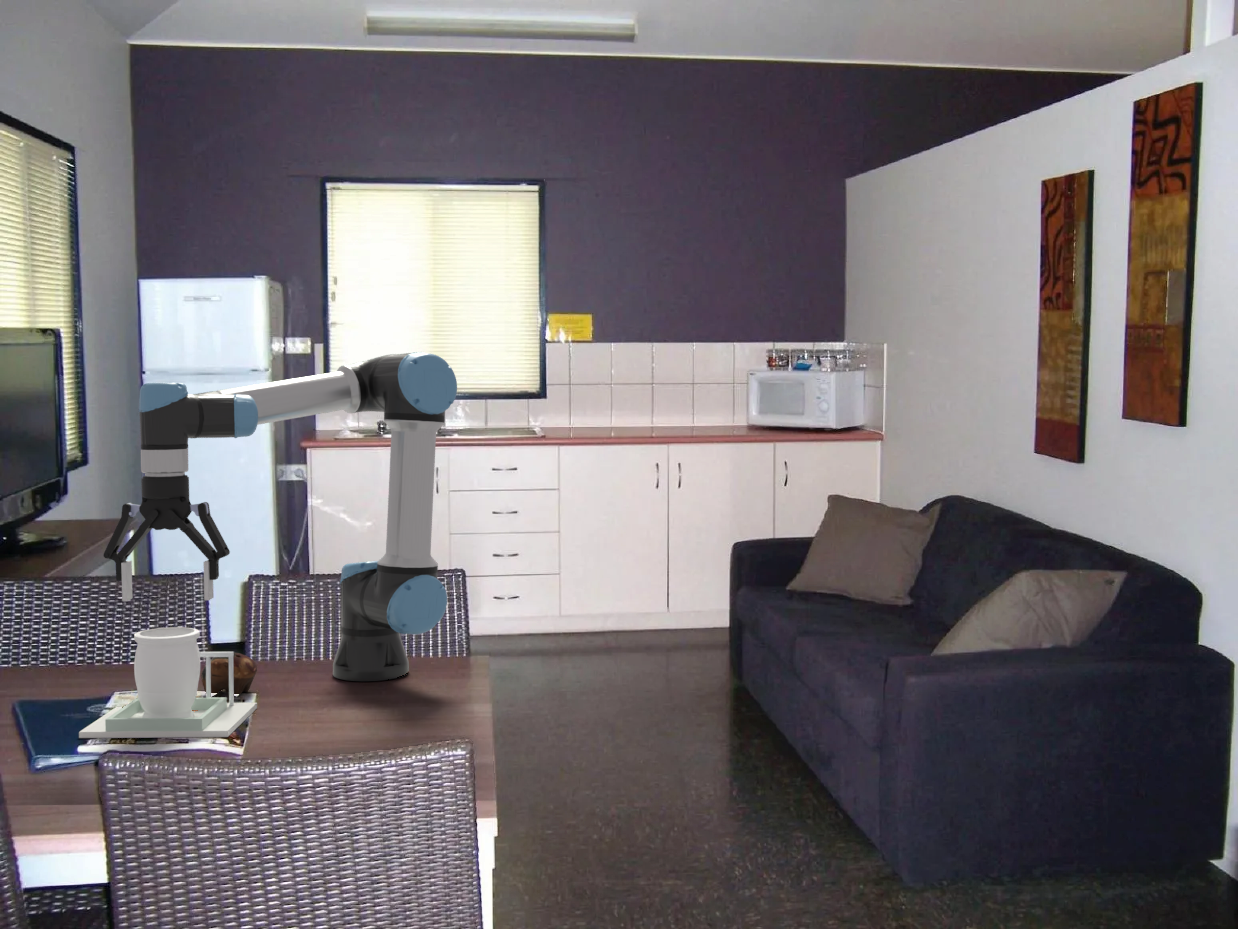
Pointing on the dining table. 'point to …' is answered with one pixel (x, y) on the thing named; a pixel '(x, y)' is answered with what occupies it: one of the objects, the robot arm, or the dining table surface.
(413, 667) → the dining table surface
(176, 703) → the jar
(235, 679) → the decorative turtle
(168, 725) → the dish rack
